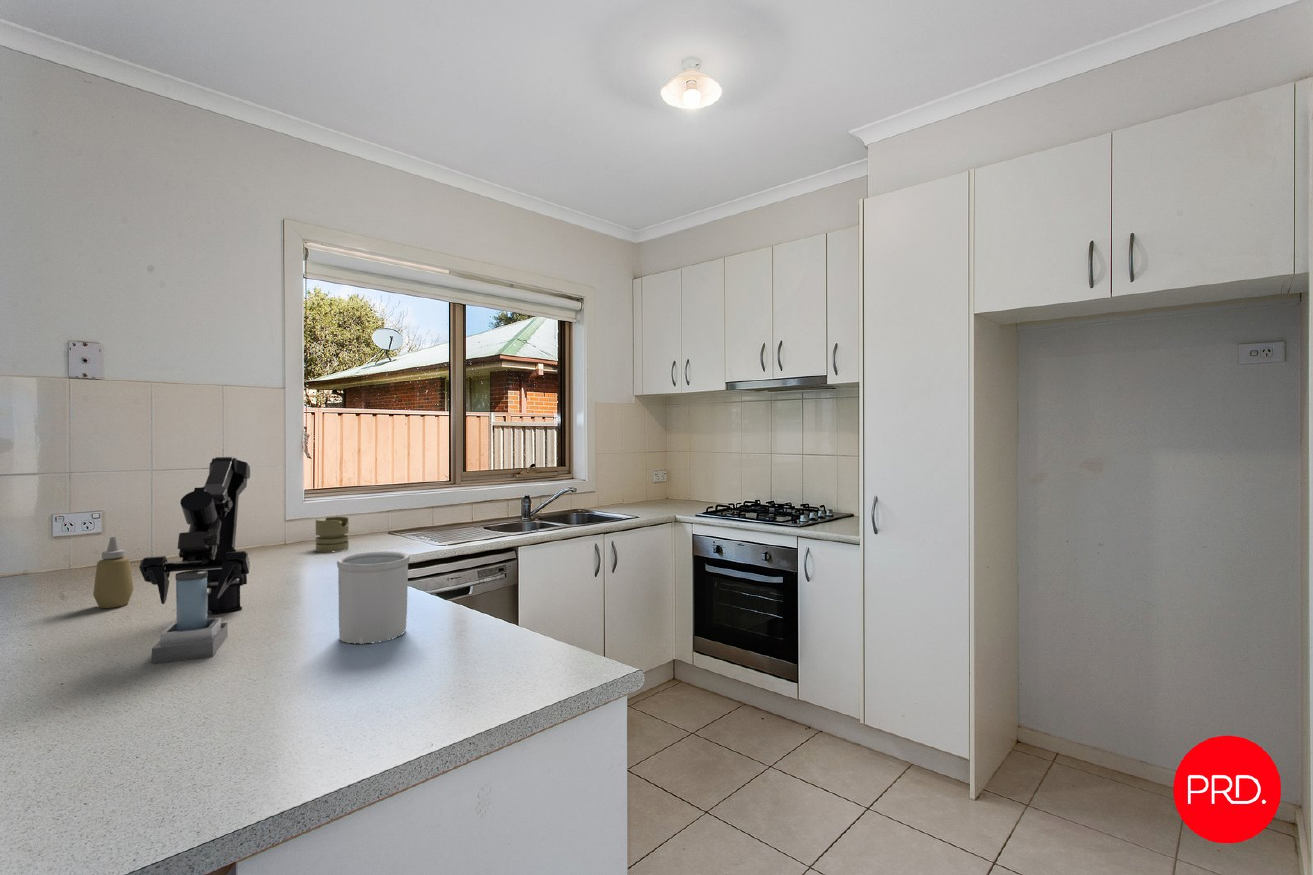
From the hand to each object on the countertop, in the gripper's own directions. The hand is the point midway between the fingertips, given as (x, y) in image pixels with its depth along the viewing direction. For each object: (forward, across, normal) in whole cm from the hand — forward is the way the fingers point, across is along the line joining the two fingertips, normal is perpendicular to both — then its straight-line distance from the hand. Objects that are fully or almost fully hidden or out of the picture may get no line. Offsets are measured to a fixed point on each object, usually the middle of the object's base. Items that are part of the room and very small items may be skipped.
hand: (190, 600), depth 131 cm
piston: (-74, +20, +89) cm, 117 cm away
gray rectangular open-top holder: (+6, 0, +8) cm, 11 cm away
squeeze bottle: (-28, -27, +43) cm, 58 cm away
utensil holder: (+10, +35, +5) cm, 37 cm away
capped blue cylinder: (+4, 0, +6) cm, 8 cm away
